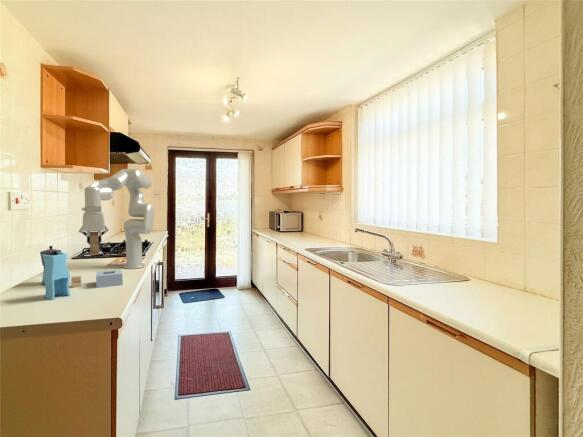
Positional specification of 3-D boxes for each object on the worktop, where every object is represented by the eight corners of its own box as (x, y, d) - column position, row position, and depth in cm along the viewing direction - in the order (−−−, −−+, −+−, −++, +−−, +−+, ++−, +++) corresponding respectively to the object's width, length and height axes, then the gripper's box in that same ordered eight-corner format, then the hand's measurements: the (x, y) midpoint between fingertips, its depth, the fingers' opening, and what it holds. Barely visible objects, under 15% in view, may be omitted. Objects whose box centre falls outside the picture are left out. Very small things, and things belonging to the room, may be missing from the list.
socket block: (96, 282, 184) (96, 271, 184) (121, 279, 190) (120, 269, 190) (96, 287, 174) (96, 276, 174) (122, 284, 180) (122, 273, 180)
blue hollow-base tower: (61, 293, 164) (60, 252, 163) (70, 295, 161) (69, 253, 159) (43, 297, 157) (41, 254, 156) (52, 300, 154) (50, 256, 152)
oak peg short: (72, 286, 177) (71, 276, 177) (81, 285, 179) (80, 275, 179) (71, 287, 174) (71, 278, 173) (80, 286, 176) (80, 277, 175)
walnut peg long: (90, 253, 184) (89, 231, 183) (98, 253, 186) (98, 231, 185) (90, 255, 181) (89, 232, 180) (98, 254, 183) (98, 232, 182)
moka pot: (57, 279, 190) (55, 243, 189) (69, 283, 182) (68, 246, 180) (37, 282, 183) (35, 245, 181) (48, 287, 174) (47, 248, 172)
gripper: (74, 210, 174) (75, 245, 176) (111, 210, 182) (112, 243, 184) (75, 209, 181) (76, 243, 182) (110, 209, 189) (111, 242, 190)
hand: (94, 243), depth 183 cm, fingers closed on walnut peg long, 4 cm apart
